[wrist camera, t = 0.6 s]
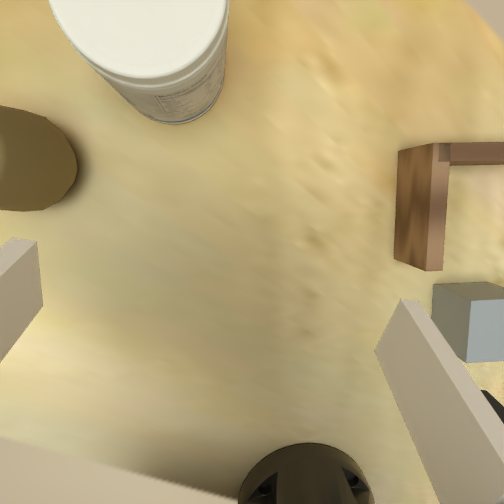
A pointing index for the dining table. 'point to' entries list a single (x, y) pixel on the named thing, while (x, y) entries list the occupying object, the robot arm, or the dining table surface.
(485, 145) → the corner fence
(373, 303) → the dining table surface
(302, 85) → the dining table surface
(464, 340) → the grey block
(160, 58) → the supplement tub
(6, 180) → the squeeze bottle
